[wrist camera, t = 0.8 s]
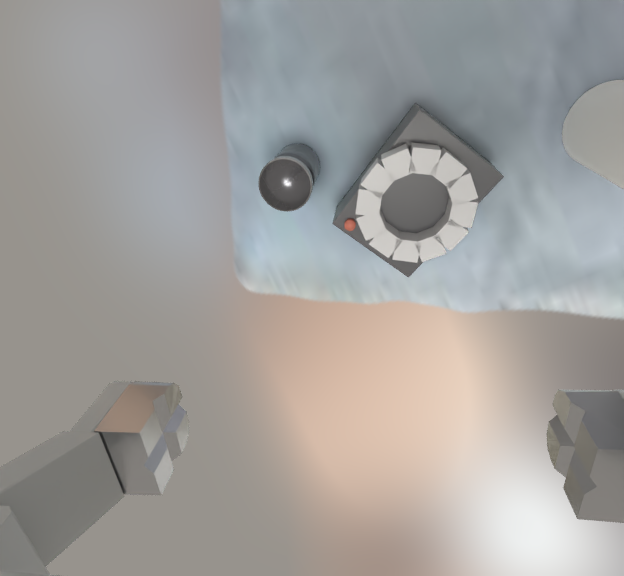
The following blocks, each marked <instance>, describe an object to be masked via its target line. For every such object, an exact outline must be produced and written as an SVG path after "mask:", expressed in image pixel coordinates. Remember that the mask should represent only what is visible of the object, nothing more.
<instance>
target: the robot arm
mask: <svg viewBox="0 0 624 576" xmlns="http://www.w3.org/2000/svg"><path fill="white" fill-rule="evenodd" d="M181 399H182V394H181V391H180V388H179V386H178V385H177V384H175V383H160V382H125V381H114V382H112V383H109V384H108V385H107V387H106V388H105V389H104V390H103V391H102V393H101V394H100V395H99V396H98V398H97V399H96V400H95V401H94V402H93V404H92V405H91V406H90V407H89V409H88V410H87V411H86V412H85V414H84V415H83V416H82V417H81V418H80V419H79V421H78V422H77V423H76V424H75V426H74V427H73V428H72V429H71V430H70V431H67V432H66V431H63V432H61V433H59V434H58V435H56V436H54V437H52V438H51V439H49V440H47V441H45V442H43V443H42V444H40V445H38V446H36V447H35V448H33V449H31V450H29V451H27V452H26V453H24V454H22V455H20V456H19V457H17V458H15V459H14V460H12V461H10V462H8V463H6V464H5V465H3V466H1V467H0V576H58V575H50V573H49V572H48V570H47V568H46V566H47V565H48V564H49V563H50V562H51V561H53V560H54V559H55V558H56V557H57V556H58V555H59V554H60V553H62V552H63V551H64V550H65V549H66V548H67V547H68V546H69V545H71V544H72V543H73V542H74V541H75V540H76V539H77V538H78V537H79V536H81V535H82V534H83V533H84V532H85V531H86V530H87V529H89V528H90V527H91V526H92V525H93V524H94V523H95V522H96V521H97V520H99V519H100V518H101V517H102V516H103V515H104V514H105V513H106V512H108V511H109V510H110V509H111V508H112V507H113V506H114V505H116V504H117V503H118V502H119V501H120V500H121V499H122V498H123V497H124V494H130V495H162V493H163V491H164V489H165V487H166V485H167V483H168V481H169V479H170V477H171V475H172V473H173V471H174V468H173V465H172V460H174V459H175V458H176V457H178V456H179V455H180V454H182V452H183V450H184V448H185V445H186V443H187V439H188V434H189V420H188V415H187V412H186V411H185V410H184V409H183V408H182V407H181V406H180V405H179V402H180V400H181ZM553 407H554V409H555V411H556V413H557V415H556V416H555V417H554V418H553V419H552V420H550V421H549V424H548V430H547V446H548V451H549V455H550V459H551V461H552V463H553V465H554V468H555V469H556V470H557V471H558V472H559V473H561V474H562V475H563V476H565V477H566V480H565V484H564V490H565V493H566V495H567V497H568V499H569V502H570V504H571V506H572V508H573V510H574V513H575V515H576V517H577V519H584V520H596V521H608V522H620V523H624V390H612V391H610V390H558V391H557V393H556V395H555V397H554V401H553Z"/></svg>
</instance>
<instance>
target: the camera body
mask: <svg viewBox="0 0 624 576" xmlns="http://www.w3.org/2000/svg"><path fill="white" fill-rule="evenodd" d="M503 177H504V176H503V175H502V174H501V173H500V172H499V171H498V170H497V169H496V168H495V167H494V166H493V165H492V164H491V163H490V162H489V161H488V160H486V159H485V158H484V157H483V156H481V155H480V154H479V153H478V152H476V151H475V150H474V149H473V148H471V147H470V146H469V145H468V144H466V143H465V142H464V141H463V140H461V139H460V138H459V137H458V136H456V135H455V134H454V133H453V132H451V131H450V130H449V129H448V128H446V127H445V126H444V125H443V124H441V123H440V122H439V121H438V120H436V119H435V118H434V117H433V116H431V115H430V114H429V113H428V112H426V111H425V110H424V109H423V108H421V107H420V106H419V105H418V104H416V103H415V104H414V105H413V107H412V108H411V109H410V111H409V112H408V113H407V115H406V116H405V117H404V119H403V120H402V121H401V123H400V124H399V125H398V127H397V128H396V129H395V131H394V132H393V133H392V134H391V136H390V137H389V138H388V140H387V141H386V142H385V144H384V145H383V146H382V148H381V149H380V150H379V152H378V153H377V154H376V156H375V157H374V158H373V160H372V161H371V162H370V164H369V165H368V166H367V168H366V169H365V170H364V171H363V173H362V174H361V175H360V177H359V178H358V179H357V181H356V182H355V183H354V185H353V186H352V187H351V189H350V190H349V191H348V193H347V194H346V195H345V197H344V198H343V199H342V201H341V202H340V203H339V205H338V206H337V208H336V212H335V216H334V220H333V223H332V224H334V225H335V226H336V227H338V228H339V229H341V230H342V231H344V232H345V233H346V234H348V235H349V236H351V237H352V238H353V239H355V240H356V241H358V242H359V243H361V244H362V245H363V246H365V247H366V248H368V249H369V250H370V251H372V252H373V253H375V254H376V255H377V256H379V257H380V258H382V259H383V260H385V261H386V262H387V263H389V264H390V265H392V266H393V267H394V268H396V269H397V270H399V271H400V272H401V273H403V274H404V275H406V276H407V277H409V276H410V275H411V274H412V273H413V272H414V271H415V270H416V269H417V268H418V267H419V266H420V265H421V264H422V263H423V262H424V261H427V260H430V259H433V258H436V257H439V256H441V255H444V254H446V250H445V247H446V248H447V249H449V250H450V251H451V250H452V249H453V248H454V247H455V246H456V245H457V244H458V243H459V242H460V241H461V240H462V239H463V238H464V237H465V236H466V235H467V234H468V233H469V231H468V229H467V227H468V228H472V224H473V221H474V217H475V213H476V209H477V206H478V203H479V202H480V201H481V200H482V199H483V198H484V197H485V196H486V195H487V194H488V193H489V192H490V191H491V190H492V189H493V188H494V187H495V185H496V184H497V183H498V182H499V181H500V180H501V179H502V178H503Z"/></svg>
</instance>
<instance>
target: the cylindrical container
mask: <svg viewBox="0 0 624 576" xmlns="http://www.w3.org/2000/svg"><path fill="white" fill-rule="evenodd" d="M562 142H563V145H564V148H565V150H566V152H567V153H568V155H569V156H570V157H571V158H572V159H573V160H575V161H576V162H578V163H580V164H581V165H583V166H585V167H586V168H588V169H590V170H592V171H593V172H595V173H597V174H598V175H600V176H602V177H604V178H605V179H607V180H609V181H610V182H612V183H614V184H616V185H617V186H619V187H621V188H622V189H624V80H613V81H608V82H605V83H601V84H599V85H597V86H595V87H593V88H591V89H590V90H588V91H587V92H585V93H584V94H583V95H582V96H581V97H580V98H579V99H578V100H577V101H576V102H575V103H574V105H573V106H572V107H571V108H570V110H569V112H568V114H567V116H566V118H565V121H564V124H563V129H562Z"/></svg>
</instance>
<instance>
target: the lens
mask: <svg viewBox="0 0 624 576" xmlns="http://www.w3.org/2000/svg"><path fill="white" fill-rule="evenodd" d="M319 172H320V162H319V159H318V156H317V154H316V153H315V152H314V151H313V150H312V149H311V148H310V147H308V146H306V145H304V144H300V143H295V144H290V145H288V146H286V147H285V148H283V149H282V150H281V151H280V152H279V154H278V155H277V156H276V157H275V158H274V159H272V160H271V161H270V162H268V163H267V164H266V166H265V167H264V168H263V169H262V171H261V173H260V176H259V190H260V193H261V195H262V197H263V199H264V200H265V201H266V202H267V203H268V204H269V205H270V206H271V207H273V208H275V209H277V210H280V211H294V210H297V209H299V208H300V207H302V206H303V205H304V204H305V203H306V202H307V201H308V199H309V197H310V195H311V192H312V189H313V186H314V184H315V182H316V179H317V177H318V175H319Z"/></svg>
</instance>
